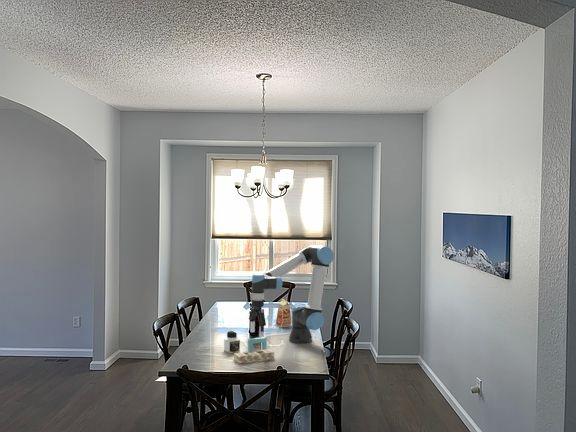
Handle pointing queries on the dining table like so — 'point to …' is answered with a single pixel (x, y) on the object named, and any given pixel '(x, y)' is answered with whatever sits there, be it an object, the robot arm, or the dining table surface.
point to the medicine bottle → (231, 342)
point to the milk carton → (283, 314)
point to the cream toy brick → (254, 356)
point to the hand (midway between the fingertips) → (256, 334)
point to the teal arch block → (256, 340)
